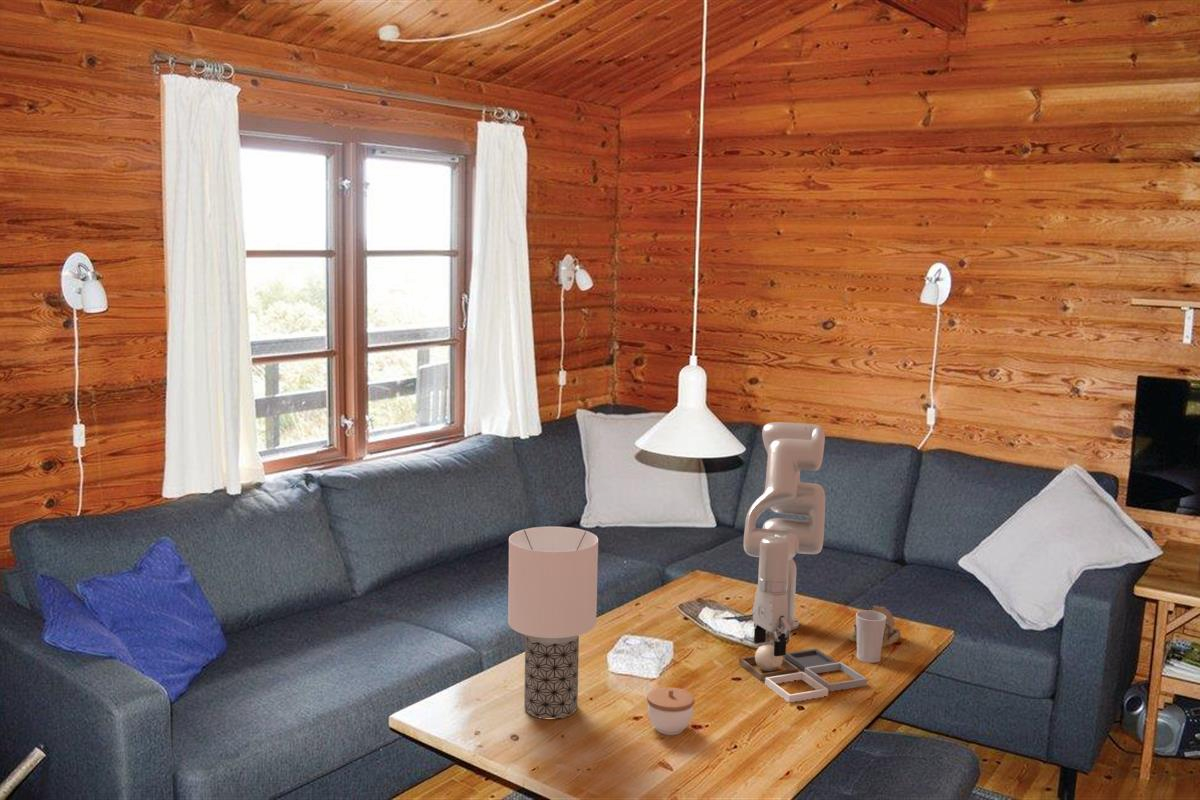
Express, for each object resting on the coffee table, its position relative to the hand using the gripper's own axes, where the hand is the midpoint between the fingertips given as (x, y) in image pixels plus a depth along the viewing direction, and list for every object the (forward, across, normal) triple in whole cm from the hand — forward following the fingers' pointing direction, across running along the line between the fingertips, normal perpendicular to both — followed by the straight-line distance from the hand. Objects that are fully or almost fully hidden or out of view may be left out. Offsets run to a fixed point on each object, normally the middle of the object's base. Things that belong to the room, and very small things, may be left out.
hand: (769, 648), depth 270 cm
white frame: (+6, +12, +1) cm, 14 cm away
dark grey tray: (+6, -1, +14) cm, 15 cm away
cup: (+6, +1, +30) cm, 31 cm away
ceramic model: (+6, -10, +41) cm, 42 cm away
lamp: (+7, +1, -60) cm, 61 cm away
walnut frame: (+6, -1, 0) cm, 6 cm away
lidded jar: (+8, +20, -38) cm, 44 cm away
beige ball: (+6, -1, +1) cm, 6 cm away
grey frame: (+6, +10, +14) cm, 18 cm away
